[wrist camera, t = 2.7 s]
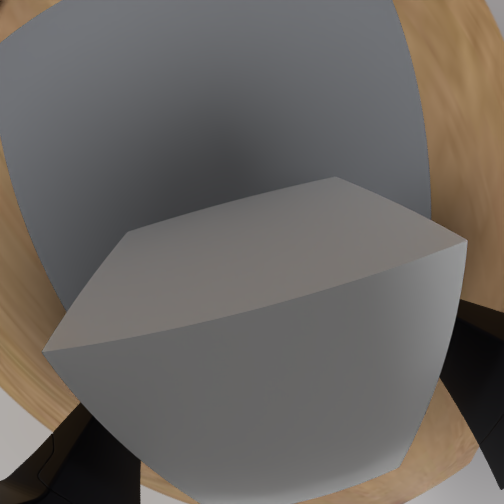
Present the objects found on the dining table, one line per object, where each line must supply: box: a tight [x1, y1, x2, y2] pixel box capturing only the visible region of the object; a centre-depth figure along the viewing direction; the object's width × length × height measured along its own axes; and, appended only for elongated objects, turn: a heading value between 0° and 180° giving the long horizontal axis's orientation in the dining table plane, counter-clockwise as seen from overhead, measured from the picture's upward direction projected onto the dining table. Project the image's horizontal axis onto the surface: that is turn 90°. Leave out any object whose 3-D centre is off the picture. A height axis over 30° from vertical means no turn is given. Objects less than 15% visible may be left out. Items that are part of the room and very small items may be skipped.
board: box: [0, 0, 431, 312], centre depth 8 cm, size 13×17×1 cm
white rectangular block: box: [42, 177, 468, 504], centre depth 7 cm, size 6×8×5 cm
